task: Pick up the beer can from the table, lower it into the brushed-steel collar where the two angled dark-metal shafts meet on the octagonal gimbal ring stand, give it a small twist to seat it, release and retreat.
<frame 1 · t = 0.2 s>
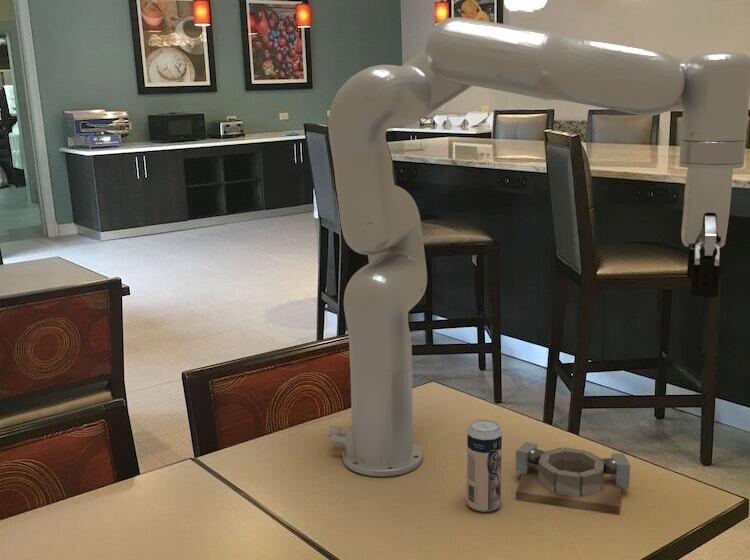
hand: (701, 287, 103), 31 cm above the table, fingers open, 9 cm apart
beer can: (483, 506, 110), on the table
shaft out: (613, 489, 114), resting on octagonal gimbal ring stand
shaft in: (530, 477, 118), resting on octagonal gimbal ring stand
octagonal gimbal ring stand: (570, 488, 115), on the table
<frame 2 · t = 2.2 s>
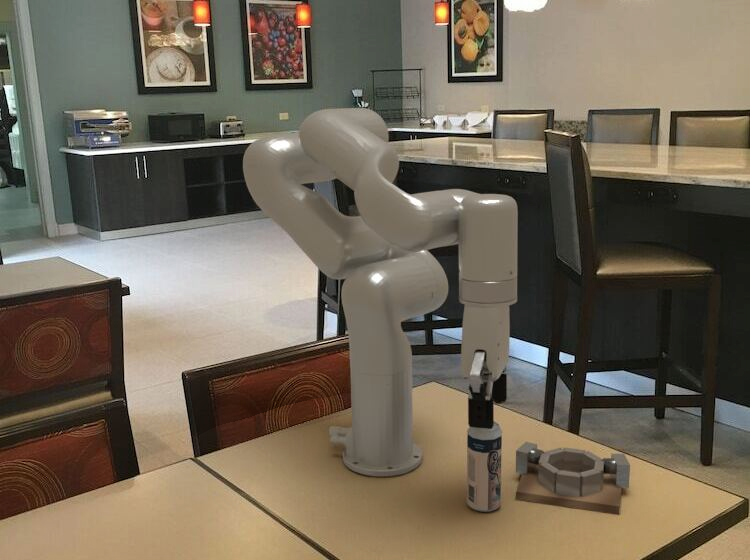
hand: (488, 413, 107), 14 cm above the table, fingers open, 9 cm apart
nothing on the table moved.
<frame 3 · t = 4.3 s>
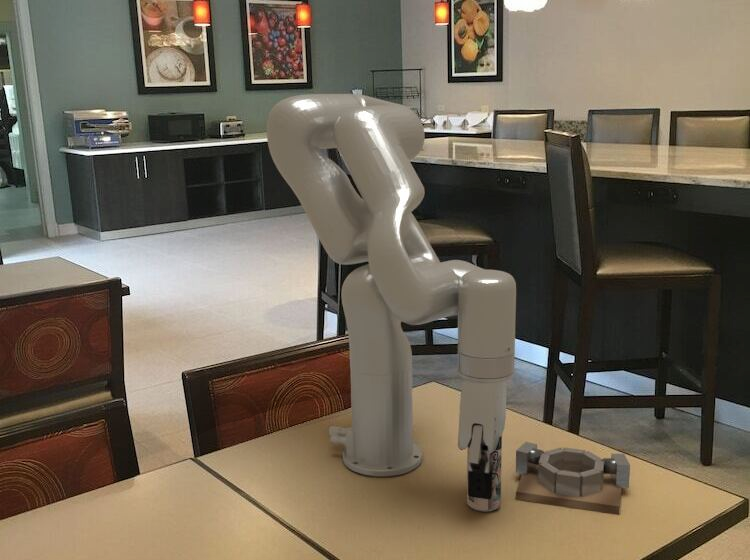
hand: (484, 486, 110), 3 cm above the table, fingers closed on beer can, 4 cm apart
beer can: (483, 506, 110), on the table, touching gripper
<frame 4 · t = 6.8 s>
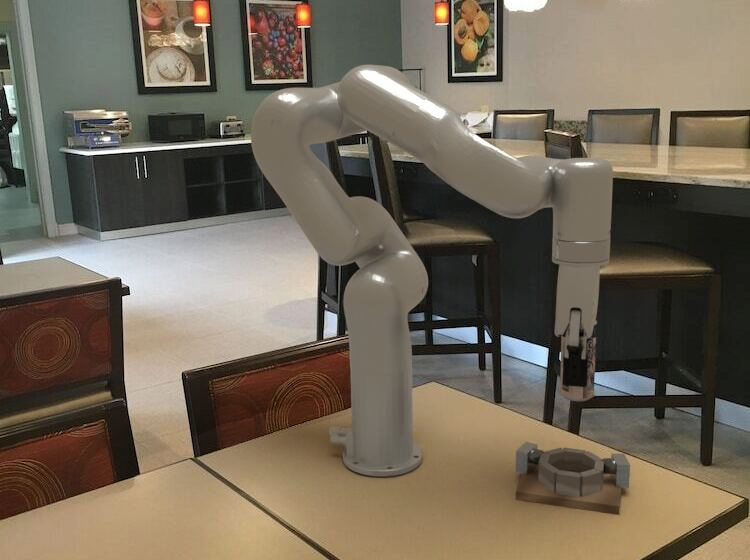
hand: (576, 377, 111), 17 cm above the table, fingers closed on beer can, 4 cm apart
beer can: (576, 398, 111), point 14 cm above the table, touching gripper
when the fingers open (6 cm above the table, at t = 9.5 s): beer can drops 1 cm, resting on octagonal gimbal ring stand.
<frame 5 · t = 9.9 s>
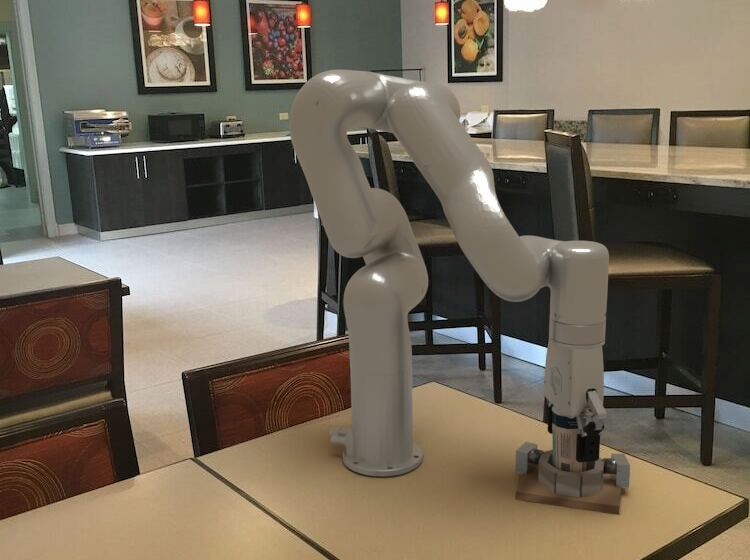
hand: (572, 445, 113), 7 cm above the table, fingers open, 9 cm apart
beer can: (569, 480, 115), point 1 cm above the table, touching octagonal gimbal ring stand
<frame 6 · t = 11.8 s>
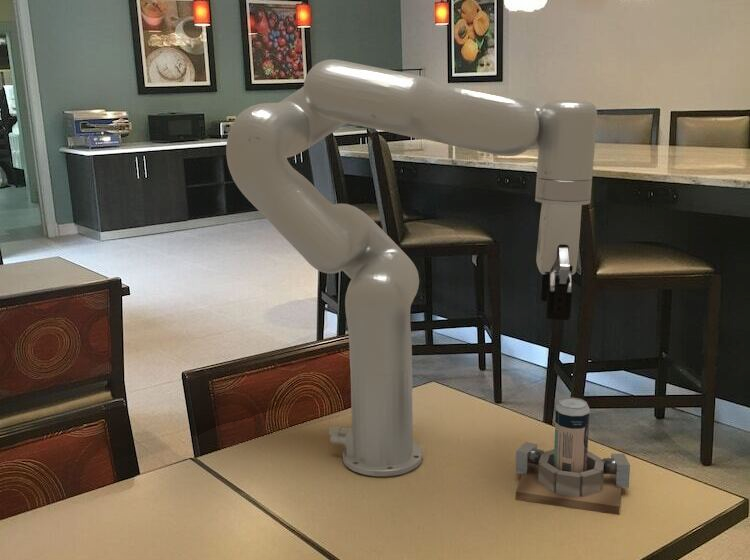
hand: (554, 309, 114), 25 cm above the table, fingers open, 9 cm apart
nothing on the table moved.
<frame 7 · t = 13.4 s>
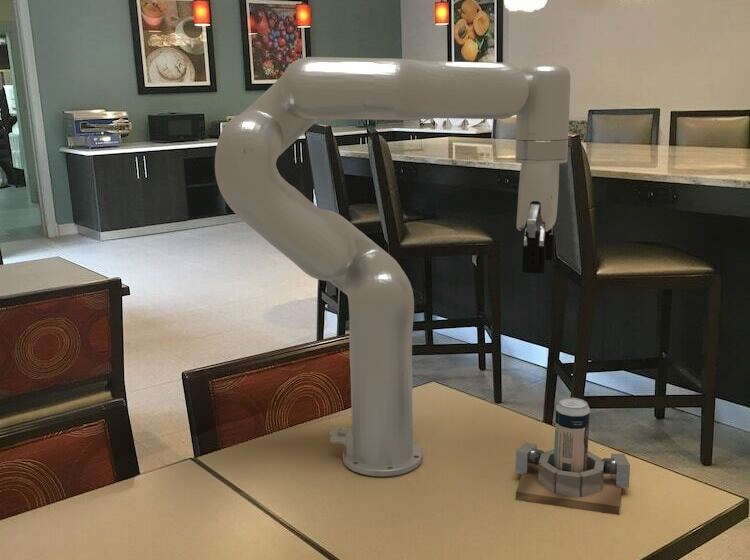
hand: (538, 265, 120), 30 cm above the table, fingers open, 9 cm apart
nothing on the table moved.
at the end: beer can 0.1 cm from the octagonal gimbal ring stand (horizontally); beer can tilted 0°; the gripper is holding nothing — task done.
